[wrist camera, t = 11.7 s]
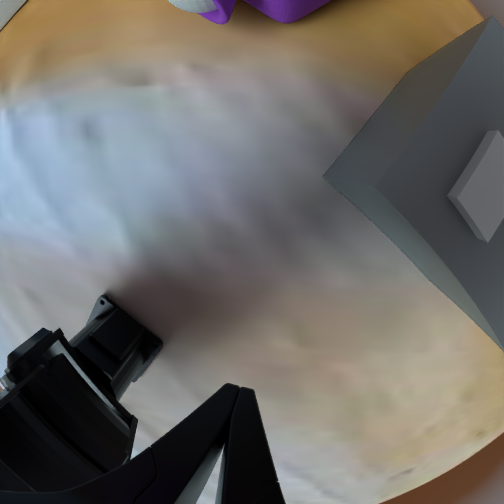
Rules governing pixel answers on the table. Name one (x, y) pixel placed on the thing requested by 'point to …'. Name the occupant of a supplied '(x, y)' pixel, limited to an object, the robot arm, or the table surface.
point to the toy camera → (270, 3)
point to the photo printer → (8, 10)
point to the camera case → (441, 171)
